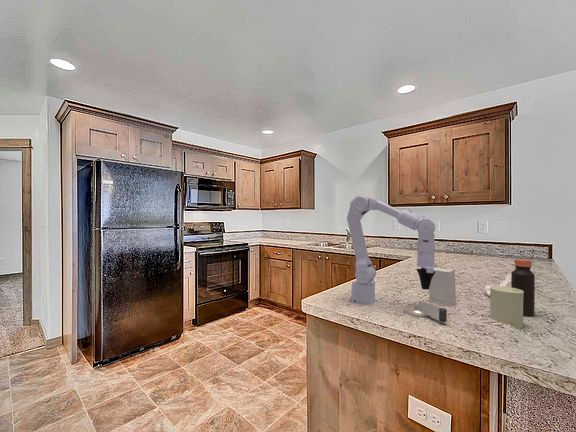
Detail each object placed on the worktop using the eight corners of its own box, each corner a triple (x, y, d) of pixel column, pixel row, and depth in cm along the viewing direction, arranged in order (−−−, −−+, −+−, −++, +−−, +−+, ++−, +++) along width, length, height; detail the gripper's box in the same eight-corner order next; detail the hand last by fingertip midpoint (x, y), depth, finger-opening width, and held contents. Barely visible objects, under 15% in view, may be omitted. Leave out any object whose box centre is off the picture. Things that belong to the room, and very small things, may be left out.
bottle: (512, 309, 112) (512, 258, 112) (535, 313, 107) (535, 260, 107) (509, 313, 107) (510, 260, 107) (533, 318, 102) (533, 262, 102)
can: (526, 330, 91) (526, 292, 91) (490, 324, 95) (490, 288, 96) (521, 321, 98) (521, 286, 98) (488, 316, 103) (488, 283, 103)
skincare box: (456, 307, 114) (456, 270, 114) (448, 310, 110) (448, 271, 110) (435, 302, 120) (436, 266, 121) (427, 304, 117) (427, 268, 117)
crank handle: (399, 309, 106) (399, 297, 106) (418, 307, 108) (419, 295, 108) (434, 326, 90) (434, 311, 90) (456, 323, 92) (456, 308, 92)
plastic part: (483, 294, 133) (483, 270, 133) (508, 296, 131) (508, 271, 131) (490, 299, 126) (490, 272, 126) (516, 301, 123) (516, 274, 123)
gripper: (443, 255, 97) (442, 295, 97) (433, 250, 111) (432, 285, 111) (420, 254, 99) (420, 293, 99) (413, 249, 113) (412, 283, 113)
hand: (425, 289), depth 105 cm, fingers closed
